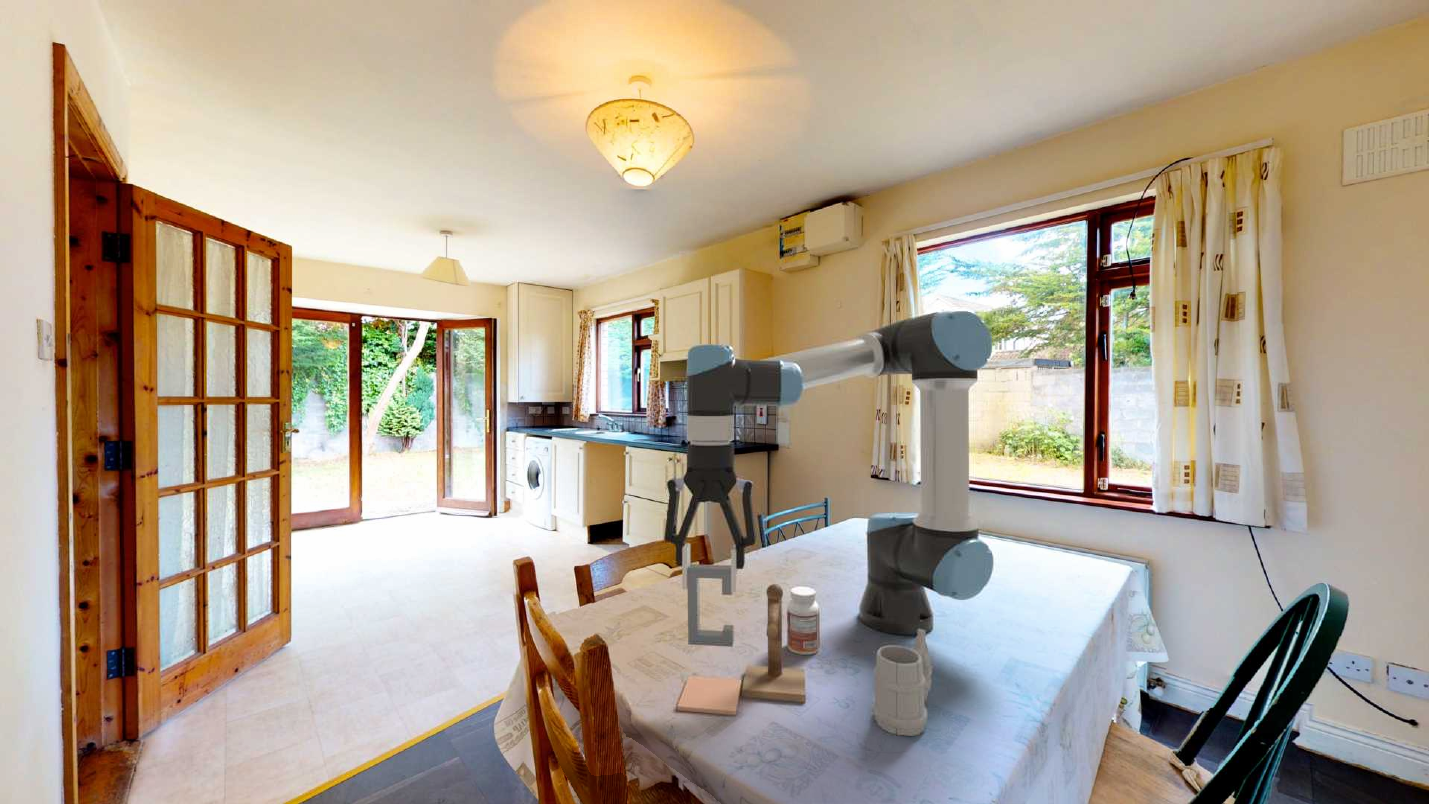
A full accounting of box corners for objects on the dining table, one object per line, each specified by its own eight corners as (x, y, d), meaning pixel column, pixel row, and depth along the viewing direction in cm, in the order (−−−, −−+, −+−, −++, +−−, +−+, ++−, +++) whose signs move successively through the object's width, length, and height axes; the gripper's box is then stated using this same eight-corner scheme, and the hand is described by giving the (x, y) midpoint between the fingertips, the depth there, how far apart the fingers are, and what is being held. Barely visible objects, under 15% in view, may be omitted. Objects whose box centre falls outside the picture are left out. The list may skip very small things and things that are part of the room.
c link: (733, 641, 83) (732, 565, 83) (732, 646, 81) (731, 569, 81) (690, 638, 84) (689, 564, 84) (688, 644, 82) (687, 568, 82)
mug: (861, 718, 78) (861, 638, 78) (906, 692, 85) (906, 618, 85) (907, 745, 72) (907, 657, 72) (952, 714, 79) (952, 634, 79)
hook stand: (746, 672, 91) (746, 579, 91) (804, 676, 90) (804, 582, 90) (738, 719, 78) (738, 610, 78) (806, 725, 76) (806, 614, 76)
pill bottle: (796, 638, 105) (795, 583, 105) (824, 646, 101) (824, 589, 101) (781, 650, 100) (781, 592, 100) (811, 659, 96) (811, 598, 96)
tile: (741, 683, 87) (741, 680, 87) (735, 715, 79) (735, 711, 79) (688, 679, 89) (688, 676, 89) (677, 710, 80) (677, 706, 80)
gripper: (774, 441, 85) (774, 582, 85) (655, 440, 88) (655, 576, 88) (772, 445, 78) (772, 599, 78) (642, 443, 81) (642, 592, 81)
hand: (710, 587), depth 83 cm, fingers closed on c link, 7 cm apart
